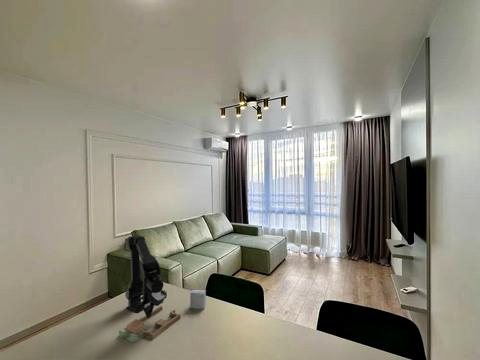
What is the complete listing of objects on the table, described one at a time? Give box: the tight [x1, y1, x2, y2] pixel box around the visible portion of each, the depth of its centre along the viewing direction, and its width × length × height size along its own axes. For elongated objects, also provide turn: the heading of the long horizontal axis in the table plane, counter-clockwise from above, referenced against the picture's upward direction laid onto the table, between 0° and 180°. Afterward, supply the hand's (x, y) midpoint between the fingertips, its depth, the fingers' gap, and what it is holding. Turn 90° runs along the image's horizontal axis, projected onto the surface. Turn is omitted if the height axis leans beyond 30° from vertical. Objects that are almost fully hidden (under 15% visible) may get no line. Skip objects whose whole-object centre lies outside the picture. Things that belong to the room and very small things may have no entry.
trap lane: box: [118, 305, 182, 344], centre depth 111 cm, size 16×25×2 cm, turn 154°
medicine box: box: [189, 289, 207, 310], centre depth 128 cm, size 8×4×9 cm, turn 84°
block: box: [126, 318, 145, 335], centre depth 104 cm, size 5×5×5 cm
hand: (148, 317), depth 111 cm, fingers closed
